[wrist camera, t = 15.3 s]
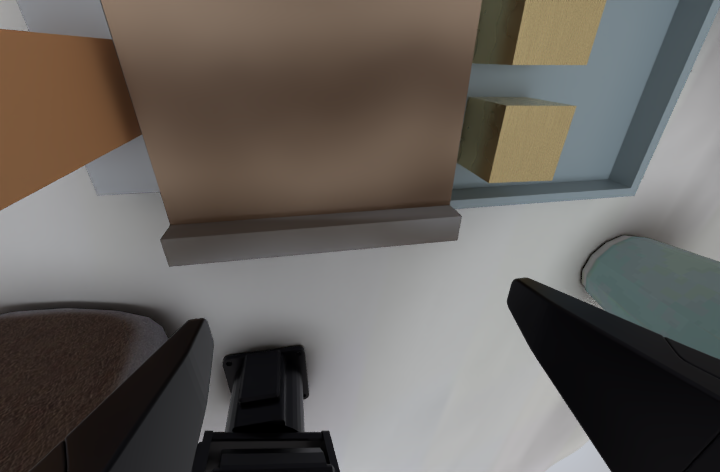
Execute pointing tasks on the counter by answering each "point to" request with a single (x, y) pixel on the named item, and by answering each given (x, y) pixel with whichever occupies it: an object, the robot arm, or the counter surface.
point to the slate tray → (600, 102)
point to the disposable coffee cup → (658, 289)
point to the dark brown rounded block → (62, 373)
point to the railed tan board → (298, 120)
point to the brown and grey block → (67, 104)
